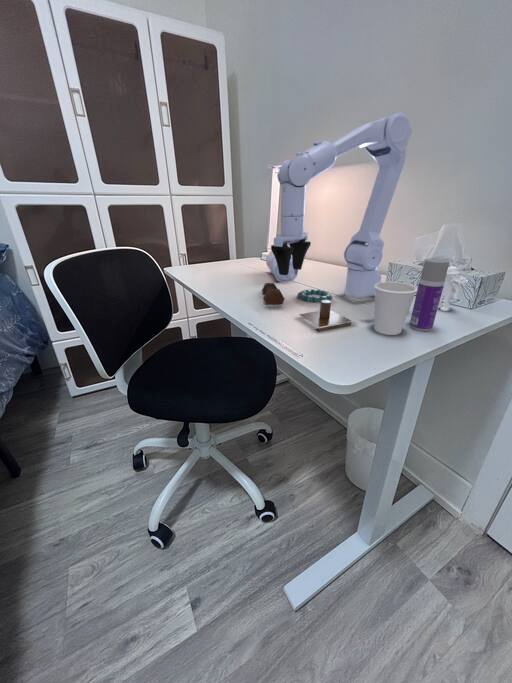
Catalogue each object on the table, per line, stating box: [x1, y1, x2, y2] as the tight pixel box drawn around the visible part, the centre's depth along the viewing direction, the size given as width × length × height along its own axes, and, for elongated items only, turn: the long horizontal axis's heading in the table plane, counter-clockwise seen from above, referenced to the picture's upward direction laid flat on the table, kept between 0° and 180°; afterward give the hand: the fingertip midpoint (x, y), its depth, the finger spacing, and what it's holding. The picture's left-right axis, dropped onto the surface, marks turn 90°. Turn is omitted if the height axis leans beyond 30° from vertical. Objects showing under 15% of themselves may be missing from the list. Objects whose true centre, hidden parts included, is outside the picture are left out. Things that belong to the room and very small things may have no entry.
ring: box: [296, 289, 333, 304], centre depth 85 cm, size 10×10×2 cm
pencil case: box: [265, 250, 299, 283], centre depth 111 cm, size 21×9×10 cm, turn 7°
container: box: [408, 258, 450, 332], centre depth 63 cm, size 5×5×15 cm
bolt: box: [261, 282, 285, 306], centre depth 85 cm, size 6×5×15 cm
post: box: [298, 300, 352, 333], centre depth 69 cm, size 9×9×5 cm
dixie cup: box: [373, 281, 418, 336], centre depth 63 cm, size 8×8×10 cm
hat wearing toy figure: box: [438, 263, 469, 312], centre depth 76 cm, size 9×4×12 cm, turn 20°
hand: (290, 271), depth 77 cm, fingers open, 7 cm apart
